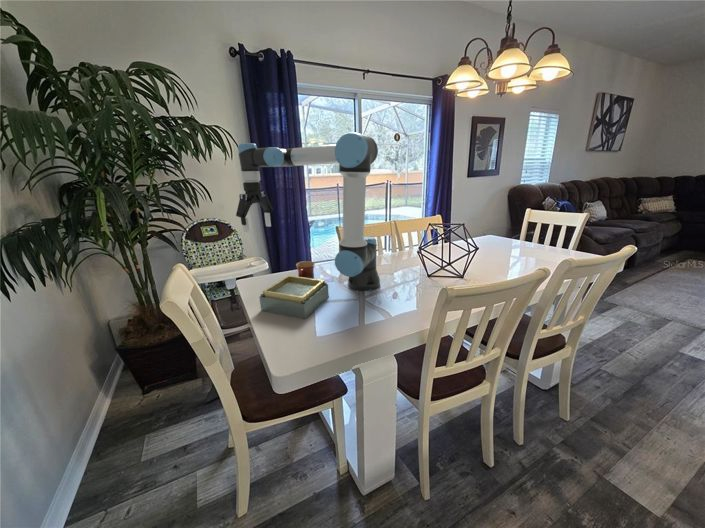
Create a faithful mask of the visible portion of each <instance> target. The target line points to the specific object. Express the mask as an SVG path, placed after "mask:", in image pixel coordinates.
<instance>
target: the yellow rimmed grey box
mask: <svg viewBox="0 0 705 528" xmlns="http://www.w3.org/2000/svg"><path fill="white" fill-rule="evenodd" d="M325 281H326V280H325V279H318V278H314V279H311V278H304V277H298V276H296V275H295V276H294V275H287V276H285V277H283V278H282V279H280V280H279V281H277V282H275V283H273V284H272V285H270V286H269V287H267V288H266V289H264V290H262V291H261V292H262V293H260V296H259V297H258V298H259V302H260V310H261V311H263V312H269V313H273V314H277V315H283V316H289V317H294V318H298V319H299V318H300V319H303V320H304V319H307V318H308V317H309V316H310V315H311V314H312V313H314V311H315V310H317V308H318V307H320V306H321V305H322V304H323V303H324V302H326V300H327V299H328V298H329V283H327V282H325Z"/></svg>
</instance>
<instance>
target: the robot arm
mask: <svg viewBox="0 0 705 528" xmlns="http://www.w3.org/2000/svg"><path fill="white" fill-rule="evenodd" d="M237 148H238V149H237V150H238V157H239V158H238V159H239V163H240V171H241V178H242V181H243V183H242V185H243V186H242V187H243V191H244V192H245V193H239V197H238V198H239V201H238V206H237V209H236V214H235V216H236V218H237V217H238V218H240V222H241V225H242V228H243V229H242V230H243V232H244V233H250V226H249V219H248V217H247V215H248V213H249V211H250V209H251V207H252V205H253V204H258V205H259V206H260V207H261V208H262V210H263V211H264V220H265V221H264V222H265V227H269V228H270V227H272V222H271V221H272V220H271V218H272V215H271V213H273V211H274V208H273V205H272V203H271V202H270V201H271V200H270V199H269V197H268V194H267V191H262V182H260V181H261V174H260V173H261V172H260V168H277V167H279V168H281V167H285V168H286V167H287V168H289V167H299V166H301V167H302V166H314V165H315V166H316V165H330V164H332V165H333V164H339V165H338V168H339V169H338V170H339V171H338V172H339V173H340V174H341V176H342V178H343V181H342V182H343V183H342V186H343V188H342V190H343V191H342V195H343V196H342V238H341V239H340V240H339V242H338V253H337V254H336V255H335V257H334V266H335V268H336V270H337V271H338V272H339V273H340V274H341V275H343V276H346V277H348V278H347V286H348V287H349V288H351V289H353V290H356V291H372V290H375V289H377V288H380V286H381V280H380V276H379V273H378V270H377V250H378V249H377V248H378V247H377V246H378V244H377V239H376V238H375V237H372V236H365V218H366V217H365V216H366V215H365V214H366V189H367V187H366V186H367V185H366V184H367V177H368V176H369V174H370V173H371V167H372V166H371V165H372V164H373V163H374V162H375V161H376V159H377V157H378V155H379V153H378V152H379V148H378V144H377V143H376V141H375V139H373V137H371V136H370V135H368V134H367V135H366V134H362V133H360V132H355V131H354V132H351V131H350V132H347V133H344V134H342V135H341V136H340V137H339V139H337V141H336V143H335V144H327V145H325V144H324V145H314V146H313V145H312V146H303V147H294V148H293V147H291V148H279V147H277V146H275V147H274V146H273V147H272V146H269V147H259V148H258V147H257V144H256V143H252V142H251V143H250V142H249V143H247V142H246V143H243V142H242V143H239V144H238V146H237Z"/></svg>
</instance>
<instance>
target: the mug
mask: <svg viewBox="0 0 705 528" xmlns="http://www.w3.org/2000/svg"><path fill="white" fill-rule="evenodd" d="M315 264H316V263H315V262H314V261H311V260H310V261H309V260H304V261H299V262H296V264H295V266H296V268H297V269H296V270H297V272H298V273H297V274H298V275H297V277H304V278H311V279H315V272H314V271H315V270H314V269H315Z"/></svg>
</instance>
